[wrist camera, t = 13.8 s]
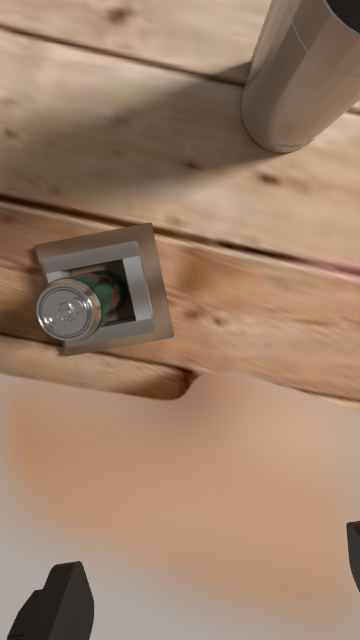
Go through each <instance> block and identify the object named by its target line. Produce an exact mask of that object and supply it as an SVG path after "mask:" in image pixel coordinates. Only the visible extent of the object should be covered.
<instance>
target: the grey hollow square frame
mask: <svg viewBox="0 0 360 640" xmlns="http://www.w3.org/2000/svg"><path fill="white" fill-rule="evenodd" d="M35 249H36V253H37V257H38V260H39V264H40V267H41V271H42V274H43V278H44V281H45V285H46V286H47V285H48V284H49V283H51V282H53V281H54V280H57V279H60V278H64V277H69V276H74V275H78V274H83V273H88V272H92V271H97V270H109V271H112V272H114V273H116V274H117V275H118V276H120V277H121V279H122V280H123V281H124V283H125V285H126V289H127V299H126V302H125V304H124V306H123V307H122V308H121V309H120V310H119V311H118V312H117V313H116V314H115V315H114V316H113V317H112V318H110V319H109V320H108V321H107V322H106V323H105V324H104V325H103V326H102V327H101V328H99V329H98V330H97V331H96V332H95V333H94V334H93V335H91V336H90V337H88V338H86V339H84V340H81V341H76V342H70V341H64V340H61V342H62V345H63V349H64V352H65V356H72V355H78V354H83V353H89V352H94V351H100V350H105V349H111V348H116V347H122V346H128V345H133V344H139V343H144V342H150V341H155V340H161V339H166V338H172V337H174V332H173V327H172V322H171V317H170V312H169V307H168V302H167V297H166V292H165V287H164V282H163V277H162V272H161V267H160V262H159V257H158V252H157V247H156V242H155V237H154V232H153V227H152V223H151V222H150V223H145V224H140V225H135V226H130V227H125V228H120V229H115V230H110V231H105V232H100V233H95V234H90V235H85V236H80V237H75V238H70V239H65V240H60V241H55V242H50V243H45V244H40V245H35Z"/></svg>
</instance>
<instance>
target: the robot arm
mask: <svg viewBox="0 0 360 640" xmlns="http://www.w3.org/2000/svg"><path fill="white" fill-rule="evenodd" d="M250 66H251V70H250V73H249V76H248V78H247V81H246V84H245V87H244V90H243V94H242V101H241V111H242V119H243V122H244V125H245V128H246V129H247V131H248V133H249V135H250V136H251V137H252V138H253V140H254V141H255V142H256V143H257V144H259V145H260V146H262V147H263V148H265V149H267V150H270V151H272V152H279V153H285V152H292V151H295V150H298V149H301V148H302V147H304V146H306V145H308V144H309V143H310V142H311V141H312V140H314V139H315V138H317V137H318V136H319V134H320V133H322V132H323V131H324V130H325V129H326V128H327V127H329V126H330V125H331V124H332V123H333V122H335V121H336V120H337V119H338V118H339V117H340V116H341V115H343V114H344V113H345V112H346V111H347V110H348V109H349V108H351V107H352V106H353V105H354V104H355V103H356V102H357V101H359V100H360V0H272V1H271V4H270V7H269V10H268V13H267V16H266V18H265V21H264V24H263V27H262V30H261V33H260V35H259V38H258V41H257V44H256V47H255V50H254V52H253V55H252V58H251V61H250ZM346 527H347V539H348V551H349V561H350V568H351V571H352V575H353V577H354V580H355V583H356V585H357V587H358V590H359V592H360V521H356V522H349V523H347V526H346ZM93 620H94V600H93V596H92V593H91V590H90V587H89V583H88V580H87V577H86V574H85V571H84V567H83V565H82V563H81V562H80V561H77V562H71V563H63V564H57V565H55V566H54V567H53V568H52V569H51V571H50V573H49V575H48V578H47V580H46V583H45V585H44V587H43V589H41V590H35V591H34V592H33V594H32V595H31V596H30V597H29V599H28V600H27V601H26V603H25V604H24V605H23V607H22V608H21V610H20V611H19V612H18V615H17V617H16V619H15V621H14V623H13V625H12V627H11V630H10V632H9V634H8V636H7V640H89V638H90V634H91V630H92V625H93Z"/></svg>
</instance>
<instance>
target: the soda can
mask: <svg viewBox="0 0 360 640" xmlns="http://www.w3.org/2000/svg"><path fill="white" fill-rule="evenodd" d="M126 299H127V289H126V285H125V283H124V281H123V280H122V279H121V277H120V276H118V275H117V274H116V273H114V272H112V271H109V270H97V271H92V272H88V273H83V274H78V275H74V276H69V277H64V278H60V279H57V280H54V281H53V282H51V283H49V284H48V285H47V286H46V287H45V288H44V289H43V291H42V292H41V294H40V297H39V299H38V302H37V306H36V315H37V319H38V321H39V324H40V325H41V327H42V328H43V329H44V331H45V332H46V333H48V334H49V335H50V336H52V337H54V338H56V339H59V340H64V341H70V342H76V341H81V340H84V339H86V338H88V337H90V336H91V335H93V334H94V333H95V332H96V331H97V330H98V329H99V328H101V327H102V326H103V325H104V324H105V323H106V322H107V321H108V320H109V319H110V318H112V317H113V316H114V315H115V314H116V313H117V312H118V311H119V310H120V309H121V308H122V307H123V306H124V304H125V302H126Z"/></svg>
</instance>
